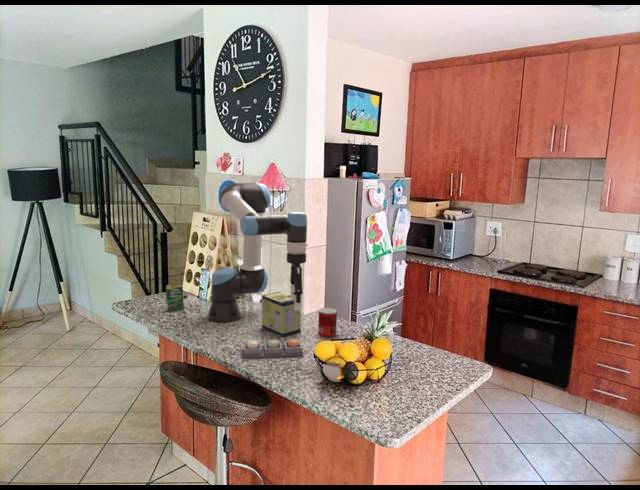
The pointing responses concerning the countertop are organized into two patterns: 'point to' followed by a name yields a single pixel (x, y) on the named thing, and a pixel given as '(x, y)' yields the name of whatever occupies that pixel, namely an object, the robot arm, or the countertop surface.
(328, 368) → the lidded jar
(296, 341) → the button terracotta
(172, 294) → the coffee box
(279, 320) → the protein box
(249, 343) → the button cream
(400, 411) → the countertop surface
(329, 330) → the canned food
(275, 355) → the button panel
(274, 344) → the button sage
